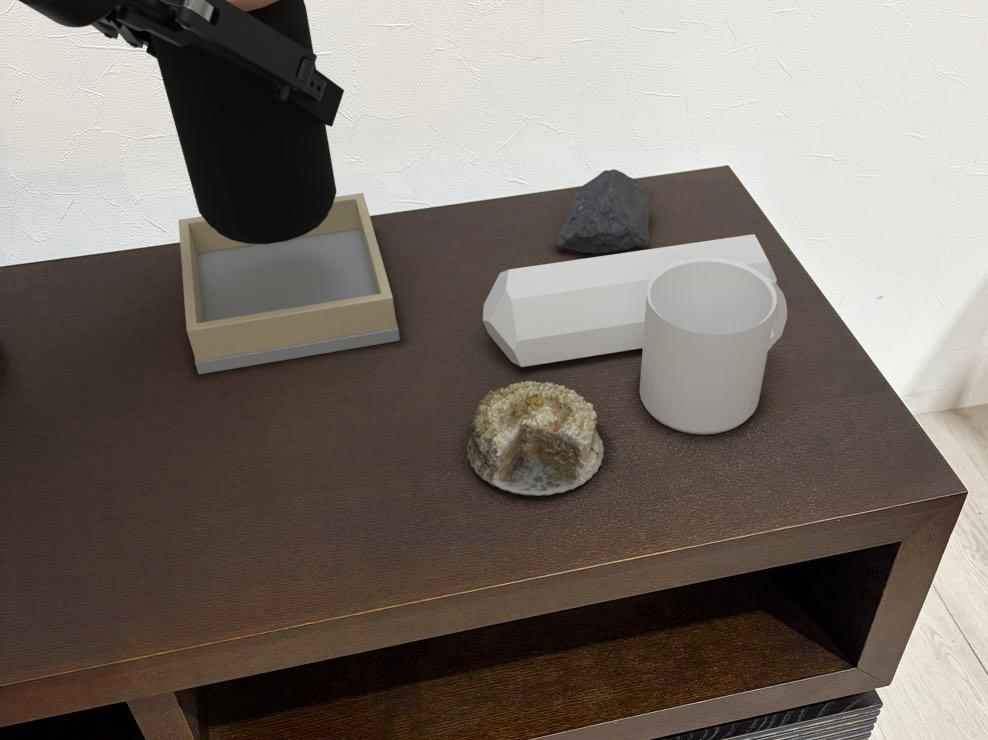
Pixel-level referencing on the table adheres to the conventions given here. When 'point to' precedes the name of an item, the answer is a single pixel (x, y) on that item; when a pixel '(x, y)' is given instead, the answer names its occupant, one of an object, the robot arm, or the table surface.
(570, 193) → the table surface
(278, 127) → the coffee jar
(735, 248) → the crystal
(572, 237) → the rock
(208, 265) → the shallow square crate
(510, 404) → the cake
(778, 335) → the mug
